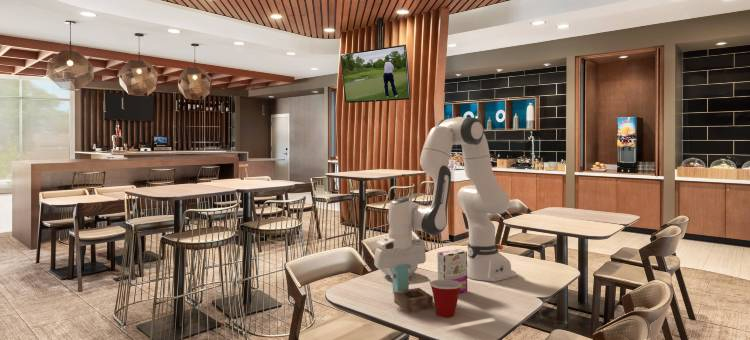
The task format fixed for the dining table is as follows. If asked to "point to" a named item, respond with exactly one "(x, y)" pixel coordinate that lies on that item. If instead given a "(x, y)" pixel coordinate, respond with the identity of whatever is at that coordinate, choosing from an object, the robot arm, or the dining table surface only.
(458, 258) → the candy bar box
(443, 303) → the plastic cup
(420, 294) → the pocket block
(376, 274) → the dining table surface
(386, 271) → the cereal bowl
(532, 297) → the dining table surface
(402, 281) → the teal peg
